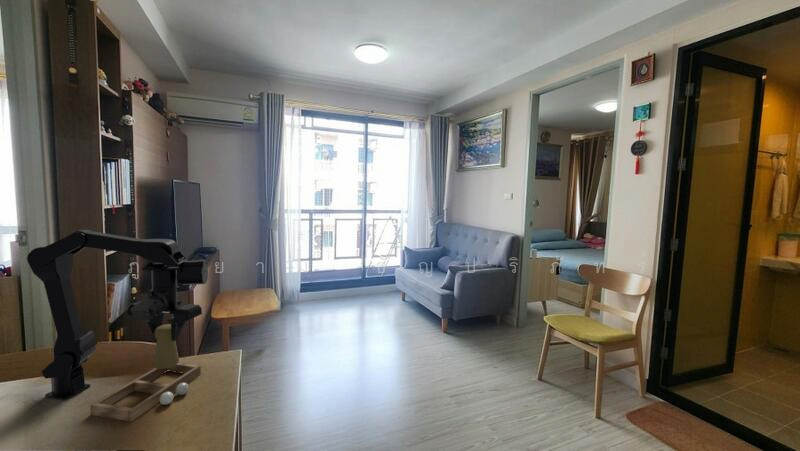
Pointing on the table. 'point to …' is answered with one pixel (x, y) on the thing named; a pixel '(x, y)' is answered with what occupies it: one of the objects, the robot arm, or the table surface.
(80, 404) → the table surface
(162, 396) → the pebble
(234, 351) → the table surface
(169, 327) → the olive tapered figurine
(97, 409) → the caddy
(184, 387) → the pebble
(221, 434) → the table surface
